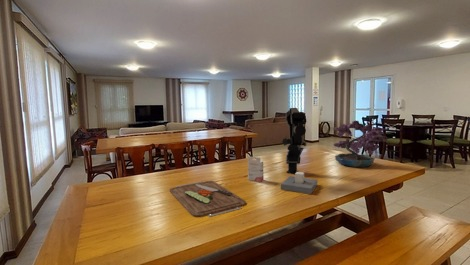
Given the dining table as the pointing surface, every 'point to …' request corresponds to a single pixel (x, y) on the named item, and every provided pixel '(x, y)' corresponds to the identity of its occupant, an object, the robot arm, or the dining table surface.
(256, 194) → the dining table surface
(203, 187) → the chopping board
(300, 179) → the plug peg
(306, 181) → the socket block
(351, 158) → the bonsai tree
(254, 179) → the ink cartridge box
